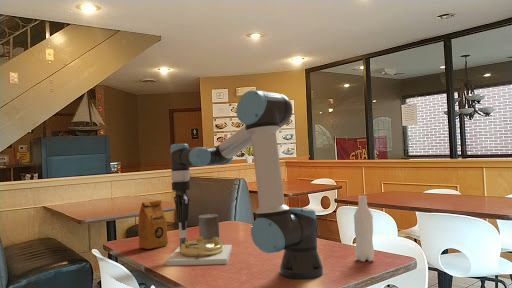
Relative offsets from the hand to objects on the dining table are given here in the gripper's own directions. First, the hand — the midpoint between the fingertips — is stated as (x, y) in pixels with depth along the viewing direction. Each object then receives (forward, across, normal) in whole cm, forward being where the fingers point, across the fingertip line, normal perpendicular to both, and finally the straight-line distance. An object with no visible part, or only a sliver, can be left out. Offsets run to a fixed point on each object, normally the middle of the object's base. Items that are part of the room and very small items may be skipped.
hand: (183, 237), depth 166 cm
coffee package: (+9, +30, +4) cm, 32 cm away
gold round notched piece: (+7, 0, -8) cm, 10 cm away
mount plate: (+9, 0, -8) cm, 12 cm away
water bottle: (+10, -44, -58) cm, 74 cm away
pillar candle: (+9, +20, -20) cm, 30 cm away
